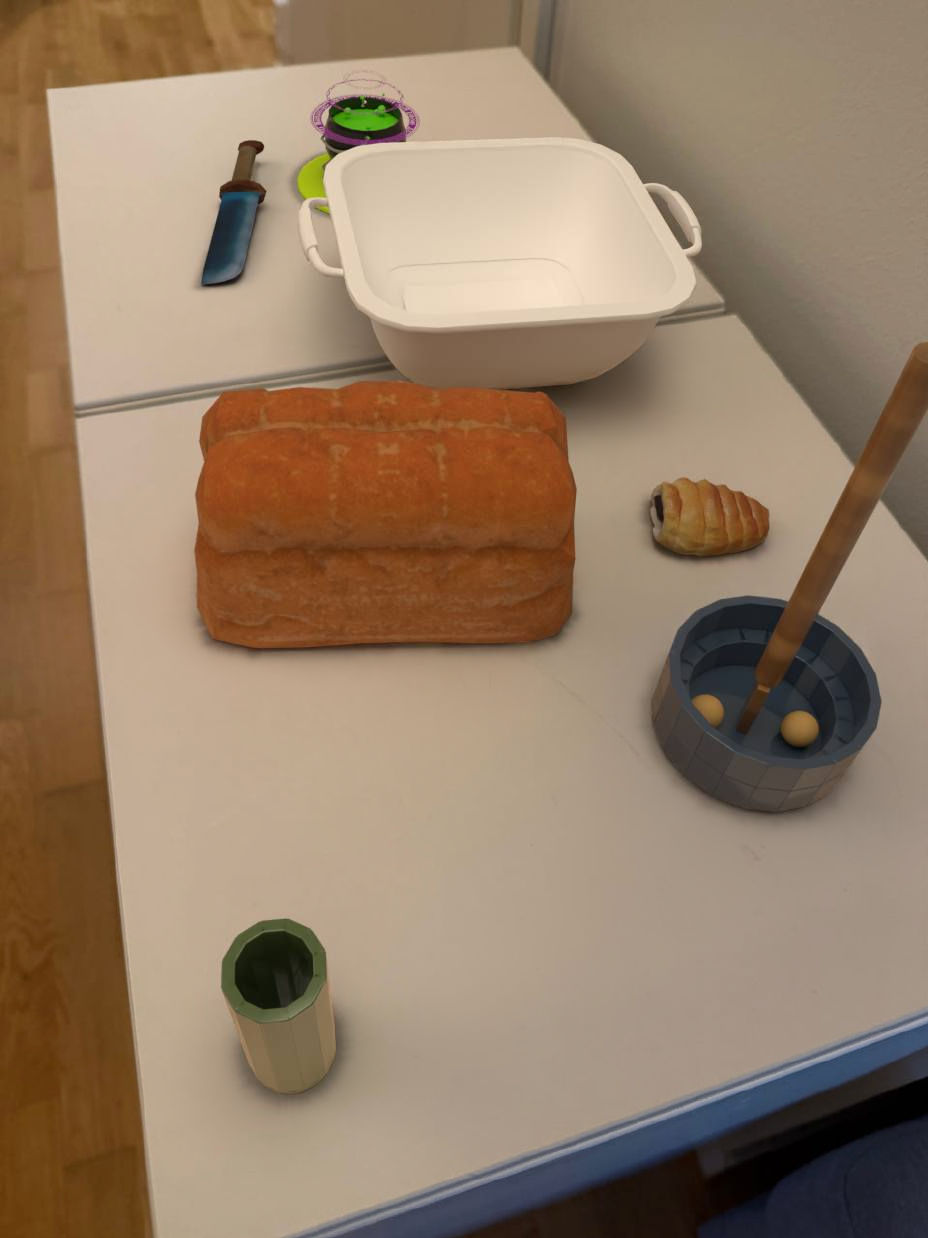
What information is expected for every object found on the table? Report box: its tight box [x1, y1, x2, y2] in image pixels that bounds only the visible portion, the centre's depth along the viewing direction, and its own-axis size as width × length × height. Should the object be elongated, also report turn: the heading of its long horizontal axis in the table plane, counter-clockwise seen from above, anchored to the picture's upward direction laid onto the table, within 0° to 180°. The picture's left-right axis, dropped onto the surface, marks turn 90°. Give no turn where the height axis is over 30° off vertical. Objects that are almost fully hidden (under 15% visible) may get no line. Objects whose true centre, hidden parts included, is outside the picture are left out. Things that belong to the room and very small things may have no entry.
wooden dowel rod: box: [736, 341, 928, 734], centre depth 57 cm, size 2×2×30 cm
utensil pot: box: [220, 918, 337, 1095], centre depth 49 cm, size 5×5×12 cm
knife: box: [200, 139, 267, 285], centre depth 103 cm, size 24×3×5 cm
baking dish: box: [297, 136, 703, 390], centre depth 89 cm, size 34×28×13 cm
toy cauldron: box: [296, 69, 421, 215], centre depth 106 cm, size 15×15×11 cm
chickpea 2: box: [781, 711, 819, 747], centre depth 67 cm, size 2×2×2 cm
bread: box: [193, 380, 578, 649], centre depth 69 cm, size 14×27×15 cm, turn 94°
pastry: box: [649, 476, 770, 557], centre depth 79 cm, size 9×7×4 cm
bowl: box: [651, 595, 882, 812], centre depth 66 cm, size 13×13×6 cm
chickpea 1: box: [692, 695, 724, 728], centre depth 67 cm, size 2×2×2 cm
